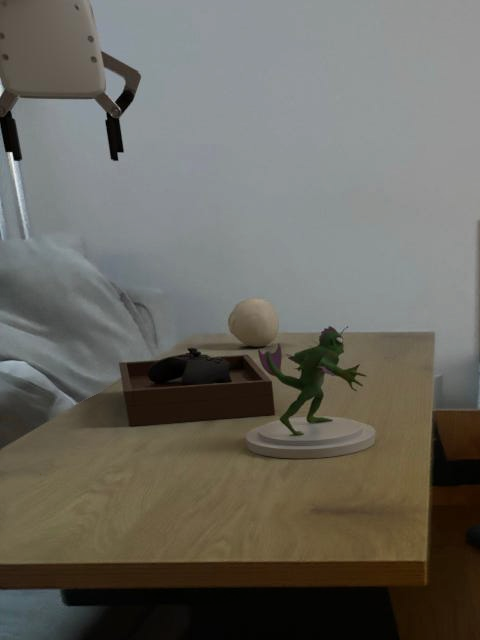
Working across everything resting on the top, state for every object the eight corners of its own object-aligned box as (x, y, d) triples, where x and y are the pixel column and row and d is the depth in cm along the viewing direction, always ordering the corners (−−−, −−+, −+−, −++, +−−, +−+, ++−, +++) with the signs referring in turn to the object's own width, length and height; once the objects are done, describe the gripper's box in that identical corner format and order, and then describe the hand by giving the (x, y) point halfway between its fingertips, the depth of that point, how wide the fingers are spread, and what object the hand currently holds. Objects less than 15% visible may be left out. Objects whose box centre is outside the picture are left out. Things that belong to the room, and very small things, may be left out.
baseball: (233, 343, 147) (228, 296, 144) (282, 342, 147) (278, 295, 144) (227, 350, 141) (221, 301, 138) (279, 349, 141) (274, 300, 138)
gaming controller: (140, 374, 108) (171, 330, 109) (177, 404, 112) (206, 361, 113) (181, 386, 102) (214, 339, 102) (219, 417, 106) (250, 372, 106)
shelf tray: (129, 426, 99) (123, 391, 97) (123, 393, 114) (118, 362, 112) (275, 414, 103) (271, 380, 102) (251, 384, 118) (248, 354, 117)
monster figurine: (399, 444, 91) (394, 330, 87) (281, 465, 85) (269, 343, 81) (337, 421, 100) (330, 316, 96) (226, 438, 94) (212, 327, 89)
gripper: (126, -21, 103) (150, 161, 110) (-57, -31, 98) (-19, 161, 105) (128, -34, 97) (154, 160, 104) (-67, -45, 91) (-26, 160, 99)
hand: (67, 160), depth 105 cm, fingers open, 9 cm apart
